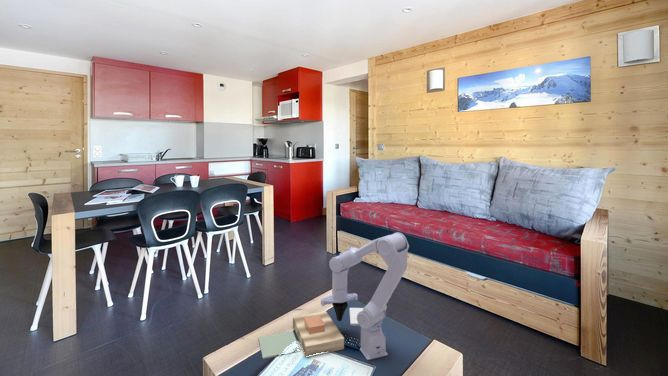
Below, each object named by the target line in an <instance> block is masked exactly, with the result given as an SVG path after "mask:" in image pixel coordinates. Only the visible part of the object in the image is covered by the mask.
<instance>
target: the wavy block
mask: <svg viewBox="0 0 668 376" xmlns="http://www.w3.org/2000/svg"><path fill="white" fill-rule="evenodd" d="M318 315H319V316H320V317H321V319H322V321H323V322H324V324H325V331H323V332H318V333H313V334H309V333H308V331H307V329H306V326H305V324H304V318H307V317H312V316H318ZM292 327H293V330H294V332H295V336H296V337H297V340H298V342H299V341H300V342H299V344H300V343H301V344H300V346H301V345H302V347H301V349H302V348H303V349H302V351H303V350H304V351H303V353H304V352H305V354H304V356H305V355H306V356H309V355H313V354H316V353H321V352H327V351H331V352H330V353H332V352H336V351H337V352H338V351H341V350H344V349H345V337H344V335H342V333H341V331H340V330H339V328H338V327H337V325H336V324H335V322H334V320H332V318H331V316H330V314H328V312H327V311H326V310H323V311H317V312H313V313H307V314H302V315H295V316H292ZM306 356H305V357H306Z"/></svg>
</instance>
